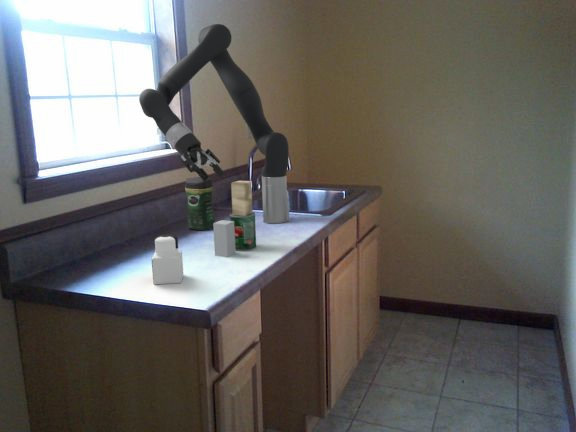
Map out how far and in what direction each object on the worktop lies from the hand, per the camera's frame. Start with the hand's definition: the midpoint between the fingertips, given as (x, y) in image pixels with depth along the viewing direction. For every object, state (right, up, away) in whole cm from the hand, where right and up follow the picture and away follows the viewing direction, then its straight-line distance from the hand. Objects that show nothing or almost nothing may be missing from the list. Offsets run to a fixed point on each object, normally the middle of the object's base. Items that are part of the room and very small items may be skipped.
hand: (215, 177), depth 182 cm
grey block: (+4, -24, -6) cm, 25 cm away
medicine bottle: (-9, -29, -28) cm, 42 cm away
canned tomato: (+9, -22, +1) cm, 24 cm away
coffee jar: (-8, -17, +28) cm, 34 cm away
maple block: (+9, -11, -2) cm, 15 cm away
